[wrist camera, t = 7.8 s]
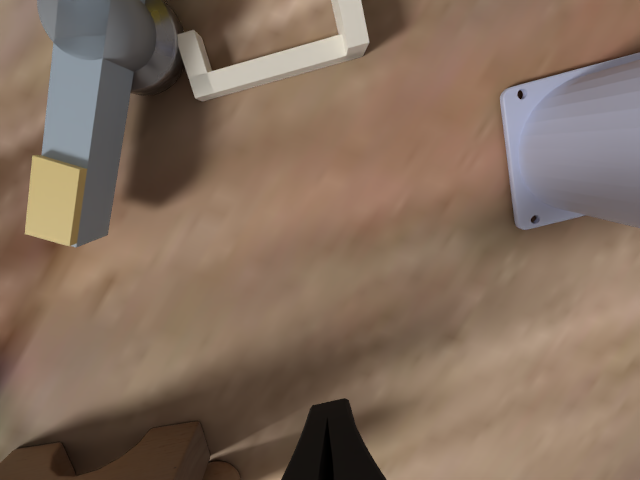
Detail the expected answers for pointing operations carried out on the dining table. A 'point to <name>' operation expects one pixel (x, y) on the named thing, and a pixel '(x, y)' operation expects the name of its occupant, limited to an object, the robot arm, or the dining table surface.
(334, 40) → the cream l-shaped bracket
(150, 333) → the dining table surface
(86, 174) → the lever
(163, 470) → the wooden toy
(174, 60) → the base
